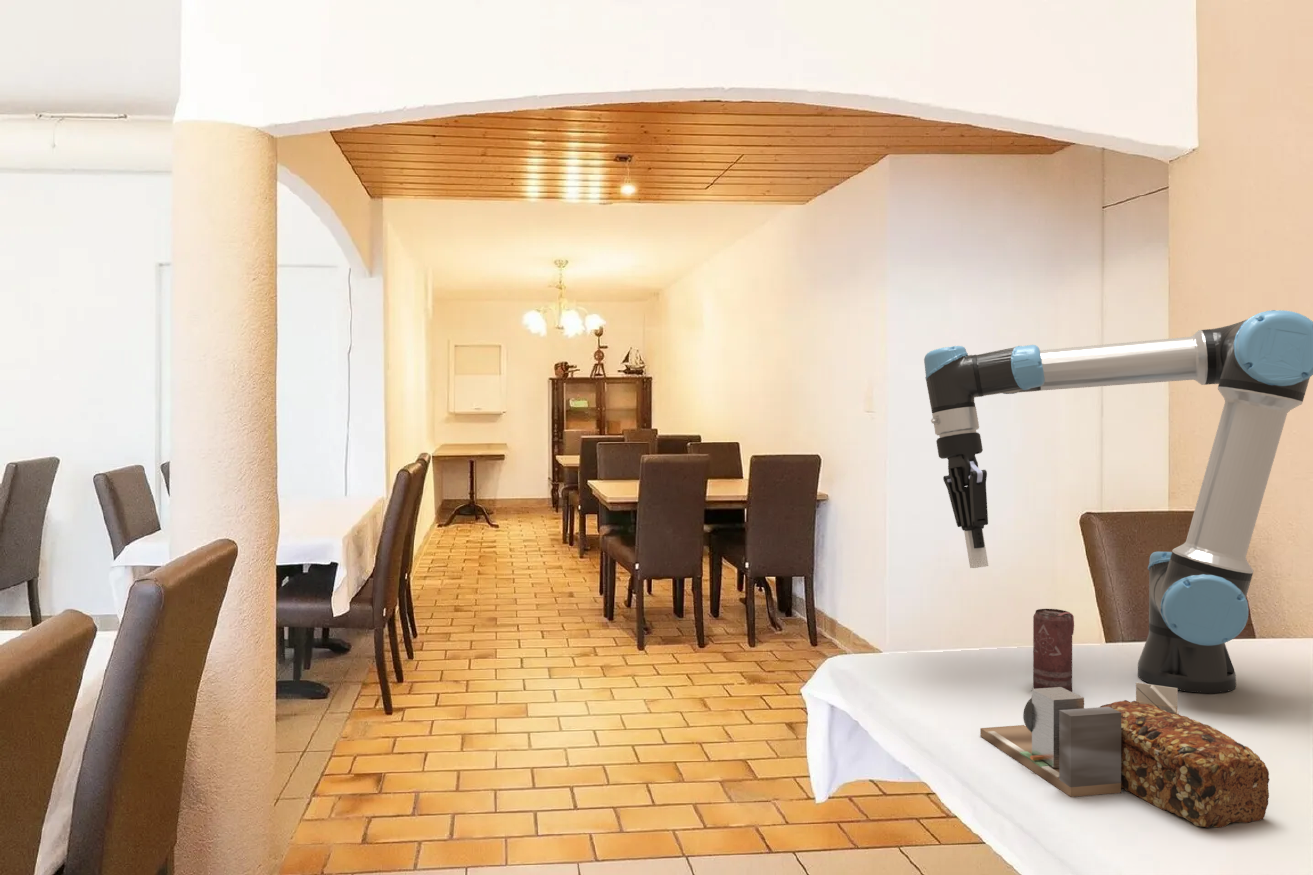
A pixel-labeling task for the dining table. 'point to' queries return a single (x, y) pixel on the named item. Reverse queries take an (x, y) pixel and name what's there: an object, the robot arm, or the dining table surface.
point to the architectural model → (1158, 696)
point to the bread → (1189, 767)
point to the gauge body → (1072, 750)
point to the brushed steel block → (1048, 720)
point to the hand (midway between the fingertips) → (979, 566)
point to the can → (1052, 648)
